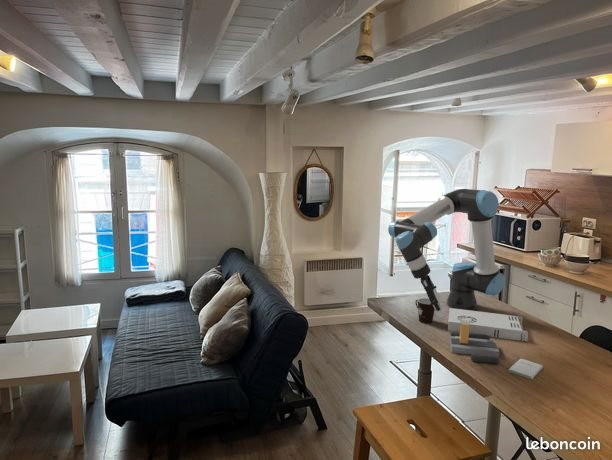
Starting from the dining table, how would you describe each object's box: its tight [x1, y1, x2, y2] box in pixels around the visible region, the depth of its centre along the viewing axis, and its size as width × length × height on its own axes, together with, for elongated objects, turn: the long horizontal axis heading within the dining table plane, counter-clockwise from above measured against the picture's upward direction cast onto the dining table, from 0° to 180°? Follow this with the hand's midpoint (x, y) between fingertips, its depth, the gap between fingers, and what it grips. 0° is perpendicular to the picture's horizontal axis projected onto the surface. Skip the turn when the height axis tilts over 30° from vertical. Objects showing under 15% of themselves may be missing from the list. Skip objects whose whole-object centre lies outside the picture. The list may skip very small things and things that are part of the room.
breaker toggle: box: [459, 318, 470, 344], centre depth 182 cm, size 3×4×9 cm
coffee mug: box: [415, 297, 436, 324], centre depth 213 cm, size 12×9×10 cm
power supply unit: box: [447, 307, 529, 342], centre depth 205 cm, size 19×33×5 cm, turn 71°
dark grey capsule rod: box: [470, 355, 500, 365], centre depth 171 cm, size 10×2×2 cm, turn 76°
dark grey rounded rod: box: [450, 331, 491, 340], centre depth 193 cm, size 16×2×2 cm, turn 76°
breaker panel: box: [448, 335, 500, 359], centre depth 183 cm, size 18×11×3 cm, turn 76°
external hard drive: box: [507, 358, 544, 380], centre depth 166 cm, size 2×8×12 cm
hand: (440, 309), depth 188 cm, fingers open, 13 cm apart
